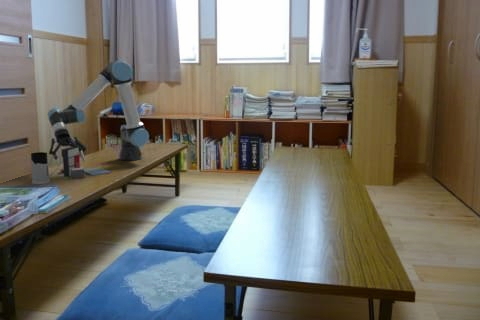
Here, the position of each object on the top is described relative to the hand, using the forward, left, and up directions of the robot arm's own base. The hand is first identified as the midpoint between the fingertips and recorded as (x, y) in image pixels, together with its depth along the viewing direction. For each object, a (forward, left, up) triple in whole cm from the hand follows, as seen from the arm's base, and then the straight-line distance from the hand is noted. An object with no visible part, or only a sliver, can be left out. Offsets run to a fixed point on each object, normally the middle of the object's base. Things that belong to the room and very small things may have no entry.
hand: (72, 162), depth 242 cm
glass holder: (+16, +7, -8) cm, 19 cm away
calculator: (0, -2, -8) cm, 8 cm away
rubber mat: (-14, -2, -7) cm, 16 cm away
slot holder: (0, -2, -7) cm, 8 cm away
